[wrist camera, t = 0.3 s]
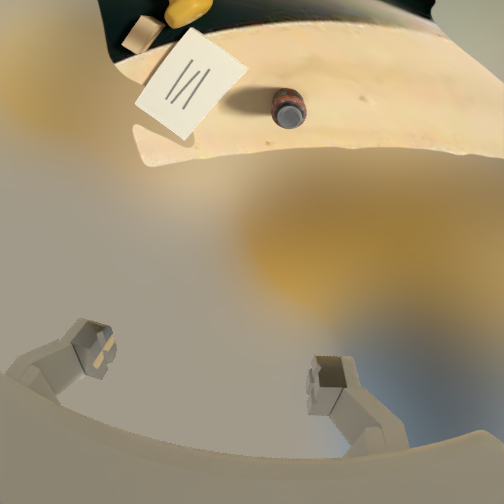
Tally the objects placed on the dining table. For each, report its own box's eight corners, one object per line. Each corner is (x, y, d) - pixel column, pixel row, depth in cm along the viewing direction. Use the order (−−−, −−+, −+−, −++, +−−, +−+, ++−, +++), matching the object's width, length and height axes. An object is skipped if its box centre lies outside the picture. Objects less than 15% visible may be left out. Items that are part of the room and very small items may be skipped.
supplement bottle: (266, 106, 50) (263, 122, 42) (282, 82, 46) (282, 92, 38) (292, 121, 51) (295, 140, 43) (309, 98, 48) (315, 112, 39)
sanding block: (151, 16, 37) (141, 15, 34) (166, 25, 39) (157, 24, 35) (132, 42, 41) (121, 44, 38) (146, 51, 42) (136, 53, 39)
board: (192, 27, 39) (190, 27, 38) (249, 68, 45) (248, 69, 44) (137, 102, 50) (134, 104, 49) (186, 138, 56) (184, 140, 55)
